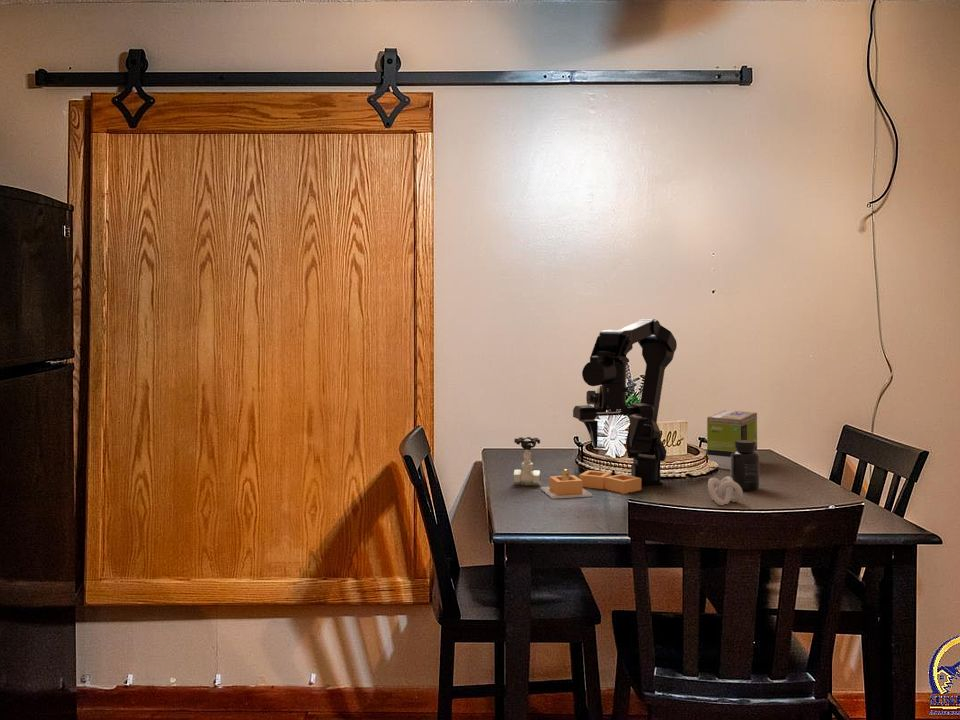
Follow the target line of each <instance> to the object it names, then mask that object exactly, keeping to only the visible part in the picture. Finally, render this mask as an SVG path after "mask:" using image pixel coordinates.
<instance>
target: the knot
mask: <svg viewBox="0 0 960 720" xmlns="http://www.w3.org/2000/svg"><path fill="white" fill-rule="evenodd" d="M715 486H716V487H715ZM733 488H734V489H733ZM707 491H708V493H709V496H710V497H711V501H713V500H714V501H713V502H715V503H716V504H717V505H719V504H727V505H728V504H729V503H731V502H730V501H734V502H737V503H739V502H741V501H742V499H743V498H744V491H742V488H741V487H740V485H739V484H738V483H736V482H734V481H733V479H732V478H731V476H729V475H728V476H727V475H726V476H725V477H723V478H721V480H720V479H718V478H716V477H711V478H709V480H708V481H707ZM734 491H735V492H736V494H735V496H734V495H733V493H734ZM721 496H723V499H722V498H721Z"/></svg>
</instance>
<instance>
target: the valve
mask: <svg viewBox="0 0 960 720" xmlns="http://www.w3.org/2000/svg"><path fill="white" fill-rule="evenodd" d="M513 442H514V443H515V444H516V445H520V447H521V448H522V449H523V450H525V452H523V459H524V460H523V462H521V465H520V466H521V468H522V469H514V471H513V483H514V485H523V486H526V487H528V486H529V487H530V486H532V485H534V486H540V485H541V481H542V472H541V471H540V470H538V469H537V470H536V469H535V470H533V468H534V463H533V462H532V460H531V459H532V452H530V450H532V449H533V448H535V447H536V445H537V444H541V439H540V438H538V437H531V436H526V437H518V438H514V441H513Z"/></svg>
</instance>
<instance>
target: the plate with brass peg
mask: <svg viewBox="0 0 960 720" xmlns="http://www.w3.org/2000/svg"><path fill="white" fill-rule="evenodd" d="M569 475H570V470H569V469H568V468H564V469H563V470H562V471H561V476H562V481H564V480H569ZM539 490H540V491H542V492H543V493H544V492H545V493H544V494H545V495H547V496H548V497H549V498H551V499H552V500H555V499H556V500H557V499H570V498H571V499H572V498H573V499H574V498H590V497H593V494H592V493H591V492H590V491H588V490H587V489H586V488H585V487H582V493H571V494H556V493H555V492H554V491H552V490H551V489H550V488H549V486H540V488H539Z"/></svg>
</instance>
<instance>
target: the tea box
mask: <svg viewBox="0 0 960 720" xmlns="http://www.w3.org/2000/svg"><path fill="white" fill-rule="evenodd" d="M706 419H707V420H706V421H707V422H706V440H707V441H706V445H707V446H706V453H707V454H706V455H707V456H708V458H709V460H711V461H714V462H716V463H717V464H718V465H719V468H721V470H730V471H731V454H732V452H734V451H735V450H736V449H735V441H736V440H751V441H755V449H754V451H755V452H757V453H758V413H757V412H756V411H755V412H753V411H751V412H750V411H739V410H722V411H720V412H718V413H714V414H712V415H710V416H707V418H706ZM707 456H706V457H707ZM719 468H718V469H719Z"/></svg>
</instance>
